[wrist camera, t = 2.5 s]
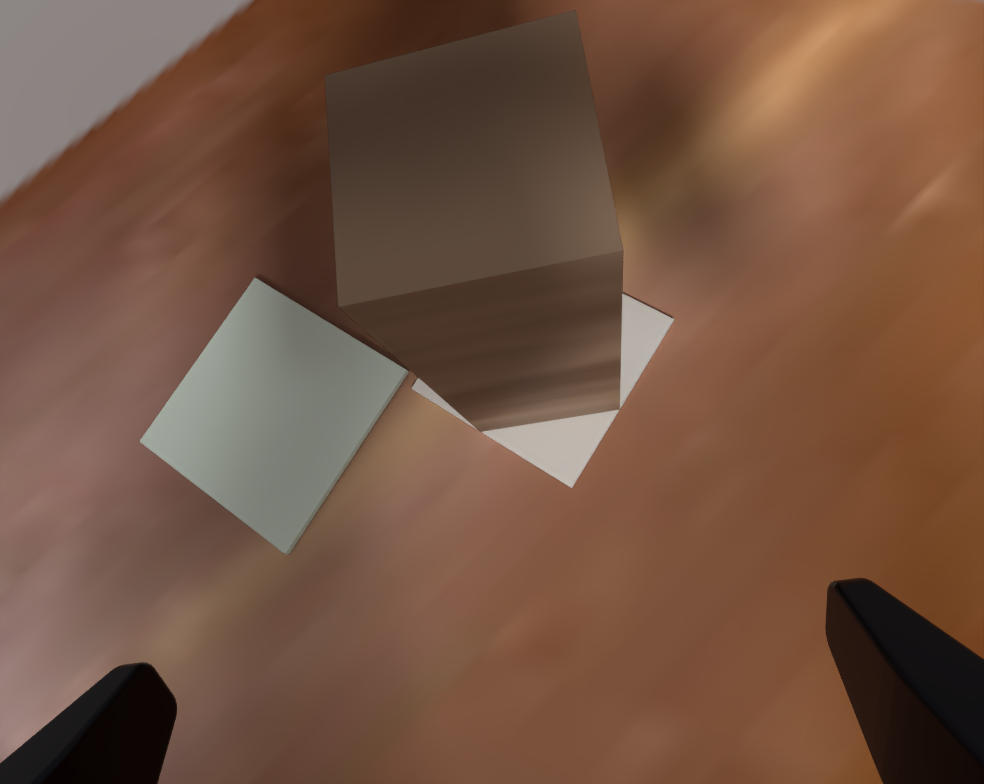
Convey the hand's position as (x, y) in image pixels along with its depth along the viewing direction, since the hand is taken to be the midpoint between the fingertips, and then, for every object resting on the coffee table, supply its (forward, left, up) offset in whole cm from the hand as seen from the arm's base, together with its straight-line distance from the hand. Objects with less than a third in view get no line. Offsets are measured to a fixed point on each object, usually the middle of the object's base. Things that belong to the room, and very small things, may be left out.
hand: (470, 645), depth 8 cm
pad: (+13, 0, -13) cm, 18 cm away
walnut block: (+5, -7, -13) cm, 15 cm away
